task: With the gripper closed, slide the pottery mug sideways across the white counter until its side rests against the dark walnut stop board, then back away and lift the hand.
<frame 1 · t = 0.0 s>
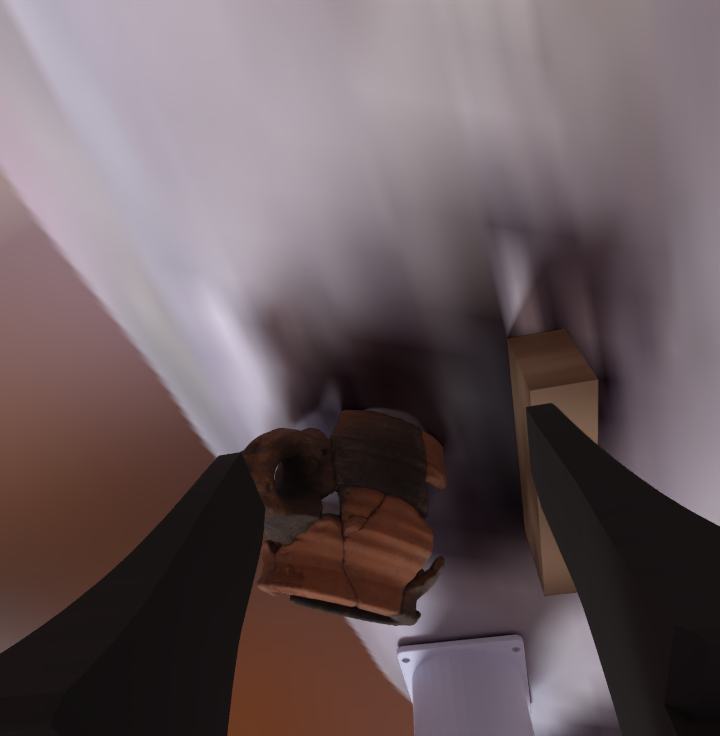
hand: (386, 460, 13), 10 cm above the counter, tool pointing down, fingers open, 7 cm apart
pottery mug: (343, 467, 27), on the counter
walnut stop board: (542, 441, 26), on the counter
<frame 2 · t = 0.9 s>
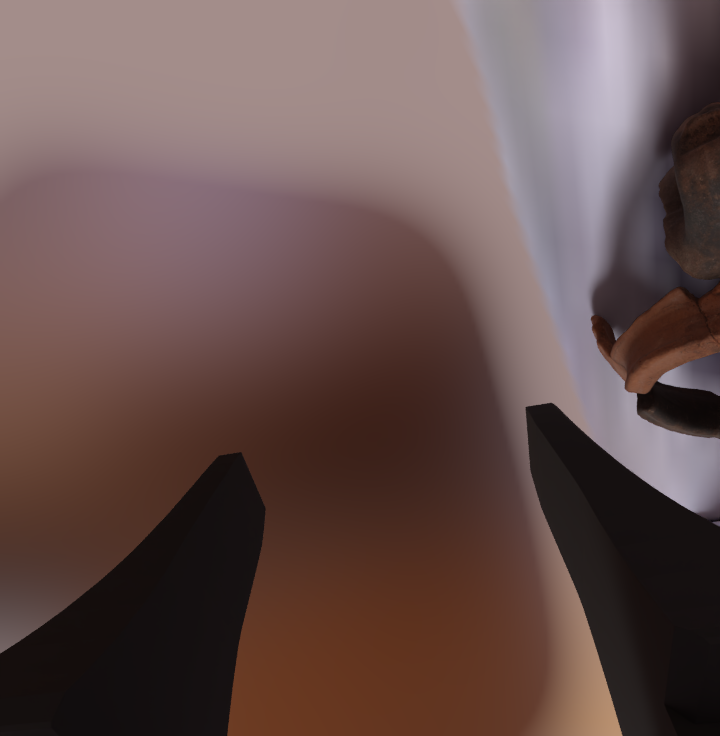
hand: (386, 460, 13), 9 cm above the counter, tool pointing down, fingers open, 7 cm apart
pottery mug: (696, 239, 20), on the counter
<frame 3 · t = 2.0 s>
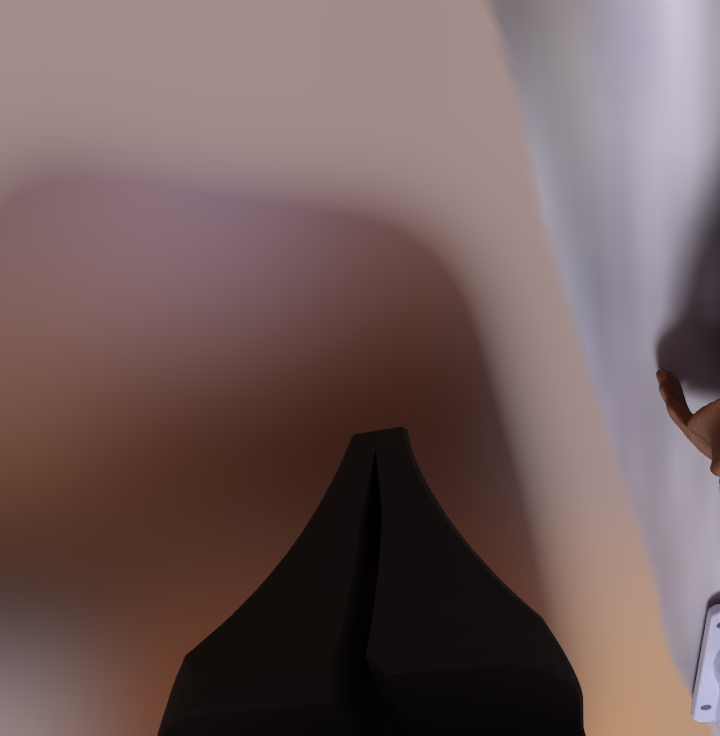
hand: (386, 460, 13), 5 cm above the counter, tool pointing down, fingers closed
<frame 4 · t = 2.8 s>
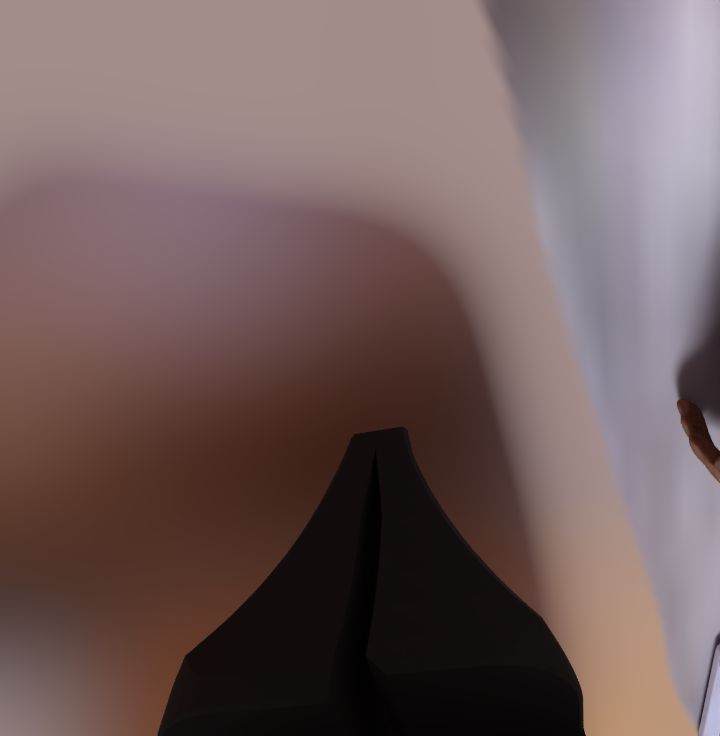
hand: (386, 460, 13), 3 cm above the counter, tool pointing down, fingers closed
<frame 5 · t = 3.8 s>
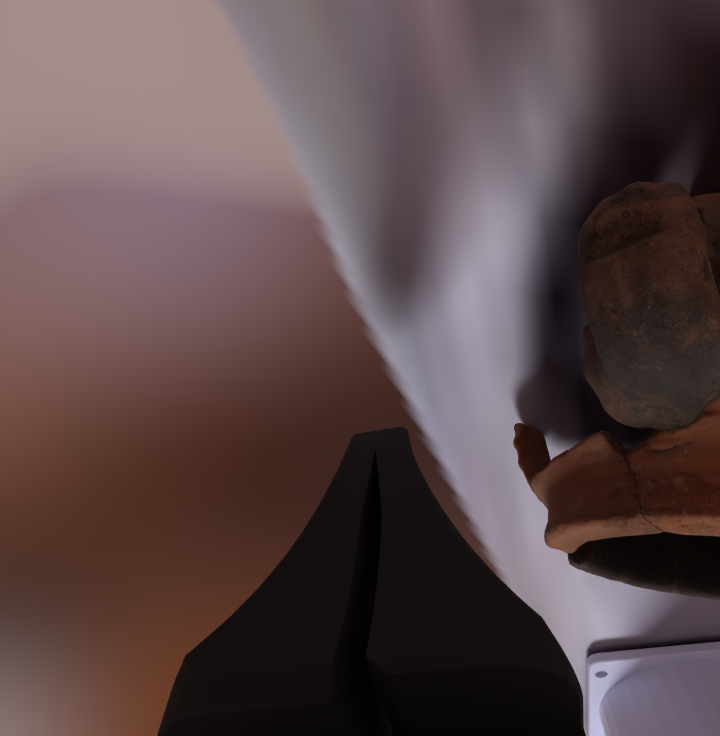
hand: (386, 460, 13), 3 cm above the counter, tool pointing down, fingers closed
pottery mug: (645, 328, 15), on the counter
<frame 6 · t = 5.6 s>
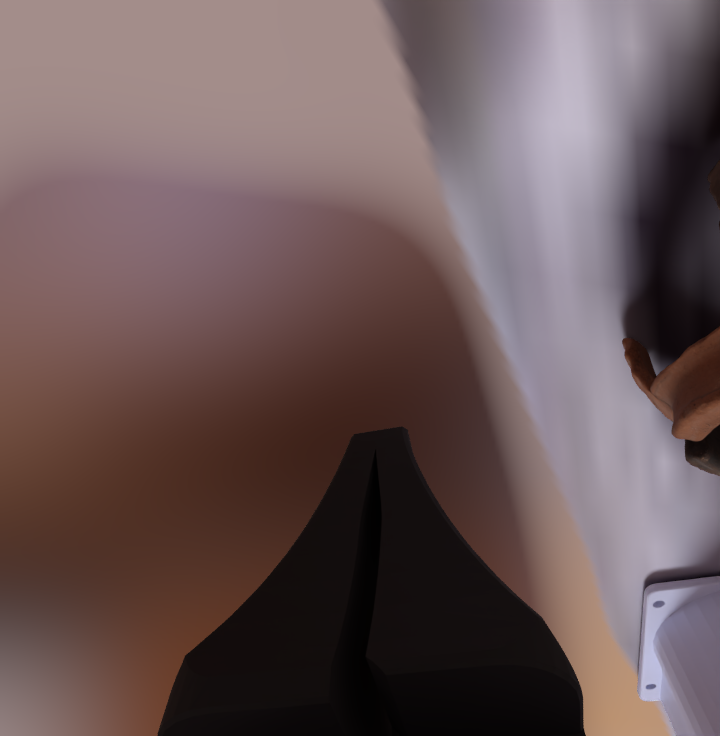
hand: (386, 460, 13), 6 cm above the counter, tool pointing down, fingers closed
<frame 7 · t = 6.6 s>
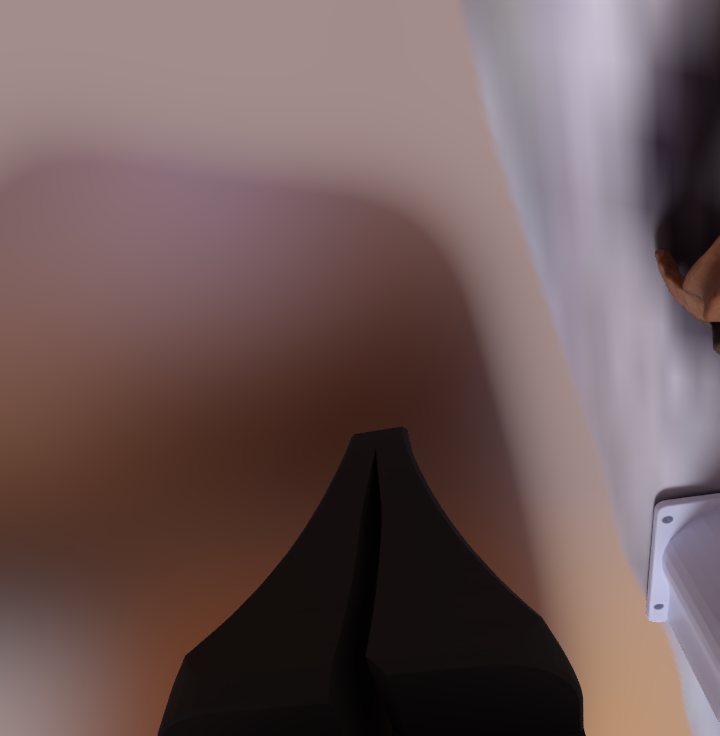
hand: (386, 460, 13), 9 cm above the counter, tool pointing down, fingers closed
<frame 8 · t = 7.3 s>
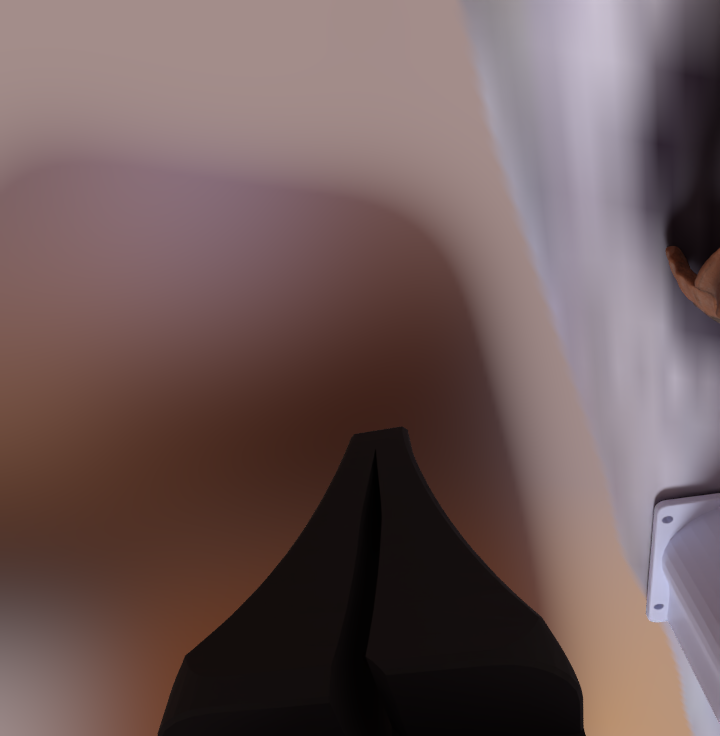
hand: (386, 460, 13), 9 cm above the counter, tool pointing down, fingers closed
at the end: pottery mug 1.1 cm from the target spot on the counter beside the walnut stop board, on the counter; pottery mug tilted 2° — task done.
